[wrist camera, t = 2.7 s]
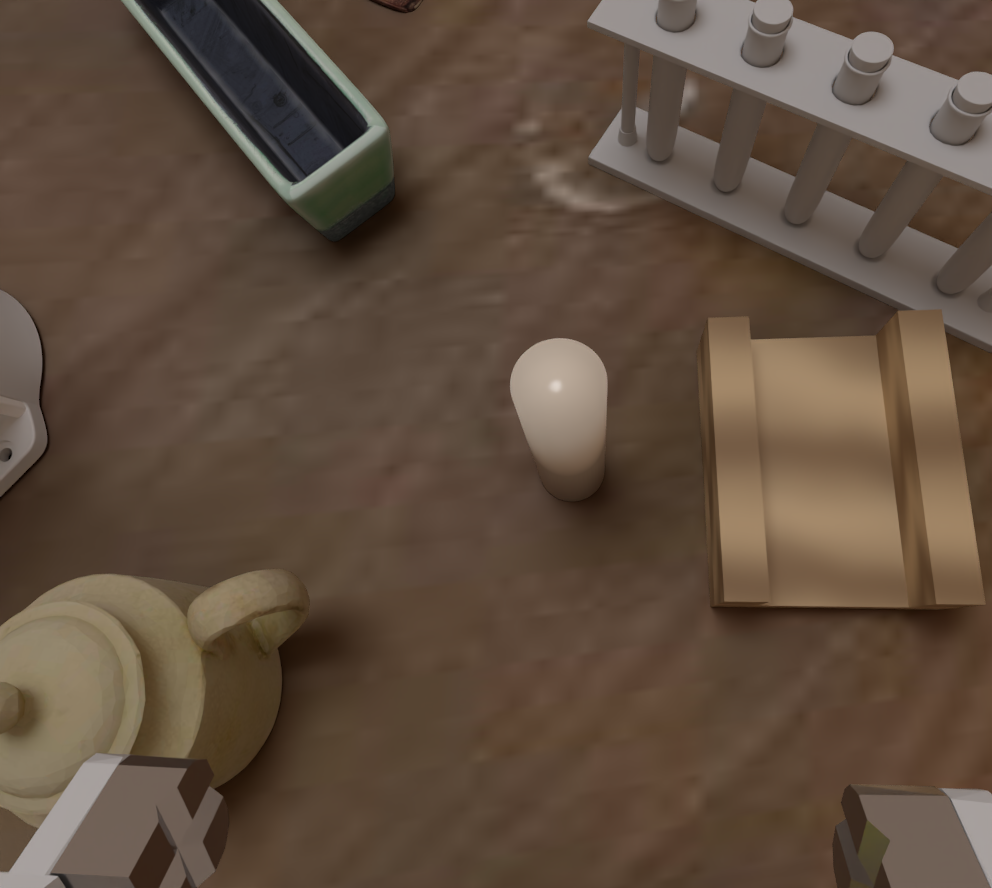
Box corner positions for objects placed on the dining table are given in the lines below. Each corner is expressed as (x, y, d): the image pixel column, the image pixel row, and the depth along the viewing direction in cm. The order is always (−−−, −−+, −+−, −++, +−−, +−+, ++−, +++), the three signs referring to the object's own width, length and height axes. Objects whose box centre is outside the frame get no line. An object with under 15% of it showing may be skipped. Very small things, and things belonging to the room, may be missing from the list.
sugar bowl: (222, 493, 43) (35, 417, 29) (367, 602, 40) (240, 577, 26) (56, 713, 41) (-235, 749, 27) (197, 844, 38) (-43, 963, 24)
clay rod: (584, 513, 40) (576, 447, 27) (527, 481, 41) (492, 401, 28) (616, 457, 41) (625, 364, 27) (559, 426, 42) (540, 322, 28)
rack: (940, 609, 37) (985, 604, 32) (710, 606, 38) (724, 601, 34) (904, 345, 40) (941, 309, 36) (696, 351, 42) (707, 318, 37)
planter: (423, 201, 47) (393, 125, 40) (332, 270, 46) (286, 205, 40) (208, -40, 55) (152, -139, 48) (129, 16, 54) (60, -75, 47)
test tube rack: (588, 165, 46) (583, -18, 33) (625, 110, 47) (634, -89, 34) (990, 354, 40) (1173, 217, 27) (1026, 288, 40) (1221, 124, 28)
